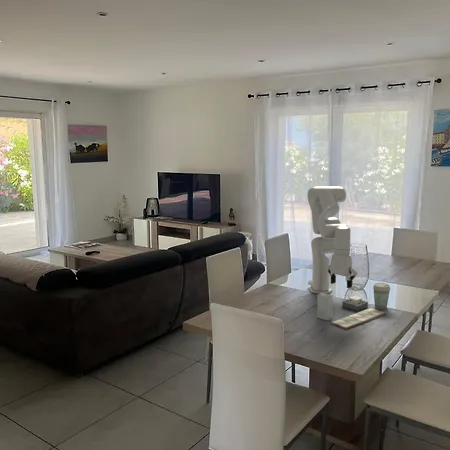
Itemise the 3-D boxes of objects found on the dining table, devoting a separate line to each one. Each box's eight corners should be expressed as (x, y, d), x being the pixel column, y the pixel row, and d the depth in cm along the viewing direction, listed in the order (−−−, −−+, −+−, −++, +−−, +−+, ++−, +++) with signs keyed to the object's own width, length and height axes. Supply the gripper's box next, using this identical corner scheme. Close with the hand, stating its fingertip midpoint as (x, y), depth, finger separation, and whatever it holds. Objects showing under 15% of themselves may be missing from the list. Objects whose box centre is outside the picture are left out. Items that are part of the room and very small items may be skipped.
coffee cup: (378, 311, 229) (379, 288, 227) (368, 305, 237) (369, 283, 235) (393, 309, 231) (394, 286, 229) (383, 303, 239) (384, 281, 237)
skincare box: (332, 318, 220) (333, 294, 218) (327, 321, 217) (328, 297, 215) (321, 315, 224) (321, 292, 222) (316, 318, 221) (317, 294, 219)
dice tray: (342, 306, 236) (342, 301, 235) (353, 303, 241) (353, 297, 241) (356, 311, 229) (356, 305, 228) (367, 307, 234) (367, 302, 234)
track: (330, 323, 214) (330, 321, 213) (370, 309, 231) (370, 307, 231) (346, 329, 206) (346, 327, 206) (385, 314, 224) (385, 312, 224)
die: (348, 306, 235) (349, 297, 235) (354, 304, 238) (354, 295, 237) (355, 308, 232) (356, 299, 231) (361, 306, 234) (361, 298, 233)
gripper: (323, 250, 227) (322, 283, 229) (352, 255, 213) (351, 291, 216) (332, 247, 231) (331, 280, 234) (361, 253, 218) (360, 287, 221)
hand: (341, 285), depth 225 cm, fingers open, 9 cm apart
